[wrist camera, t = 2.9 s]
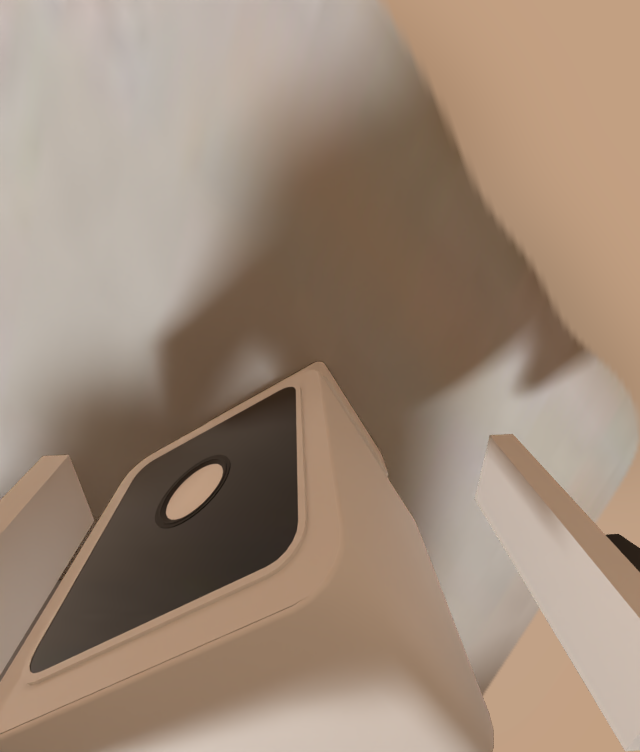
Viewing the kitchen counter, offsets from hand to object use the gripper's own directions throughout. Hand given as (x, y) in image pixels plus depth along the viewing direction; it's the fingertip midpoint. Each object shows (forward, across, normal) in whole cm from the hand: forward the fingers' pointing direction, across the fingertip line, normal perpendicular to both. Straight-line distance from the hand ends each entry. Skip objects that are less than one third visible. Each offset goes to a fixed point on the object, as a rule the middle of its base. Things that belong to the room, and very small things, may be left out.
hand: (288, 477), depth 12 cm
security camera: (+3, 0, 0) cm, 3 cm away
